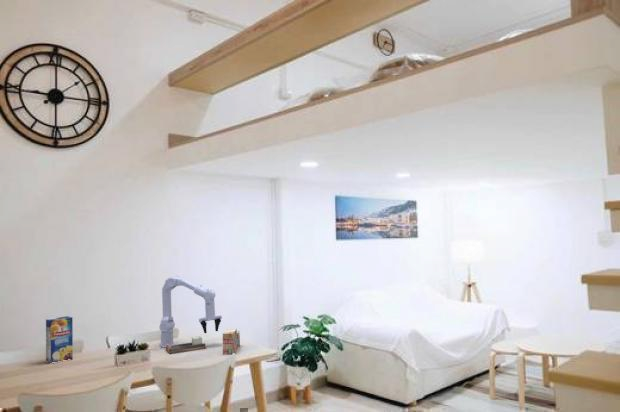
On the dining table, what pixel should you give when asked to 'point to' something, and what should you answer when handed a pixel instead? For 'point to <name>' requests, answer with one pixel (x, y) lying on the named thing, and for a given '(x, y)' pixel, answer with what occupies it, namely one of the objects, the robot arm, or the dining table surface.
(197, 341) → the sage block
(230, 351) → the stack of blocks
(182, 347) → the chute
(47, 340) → the blue food box
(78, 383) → the dining table surface
